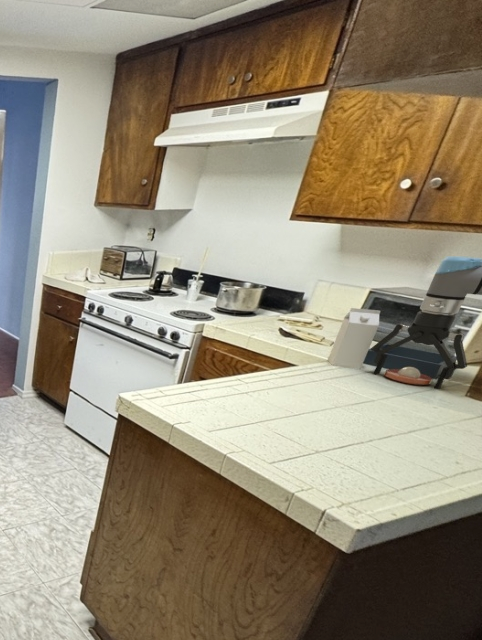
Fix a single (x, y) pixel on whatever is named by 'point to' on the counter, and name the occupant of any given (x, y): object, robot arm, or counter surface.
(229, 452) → the counter surface
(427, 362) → the dish tub
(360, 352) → the milk carton
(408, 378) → the rice plate
